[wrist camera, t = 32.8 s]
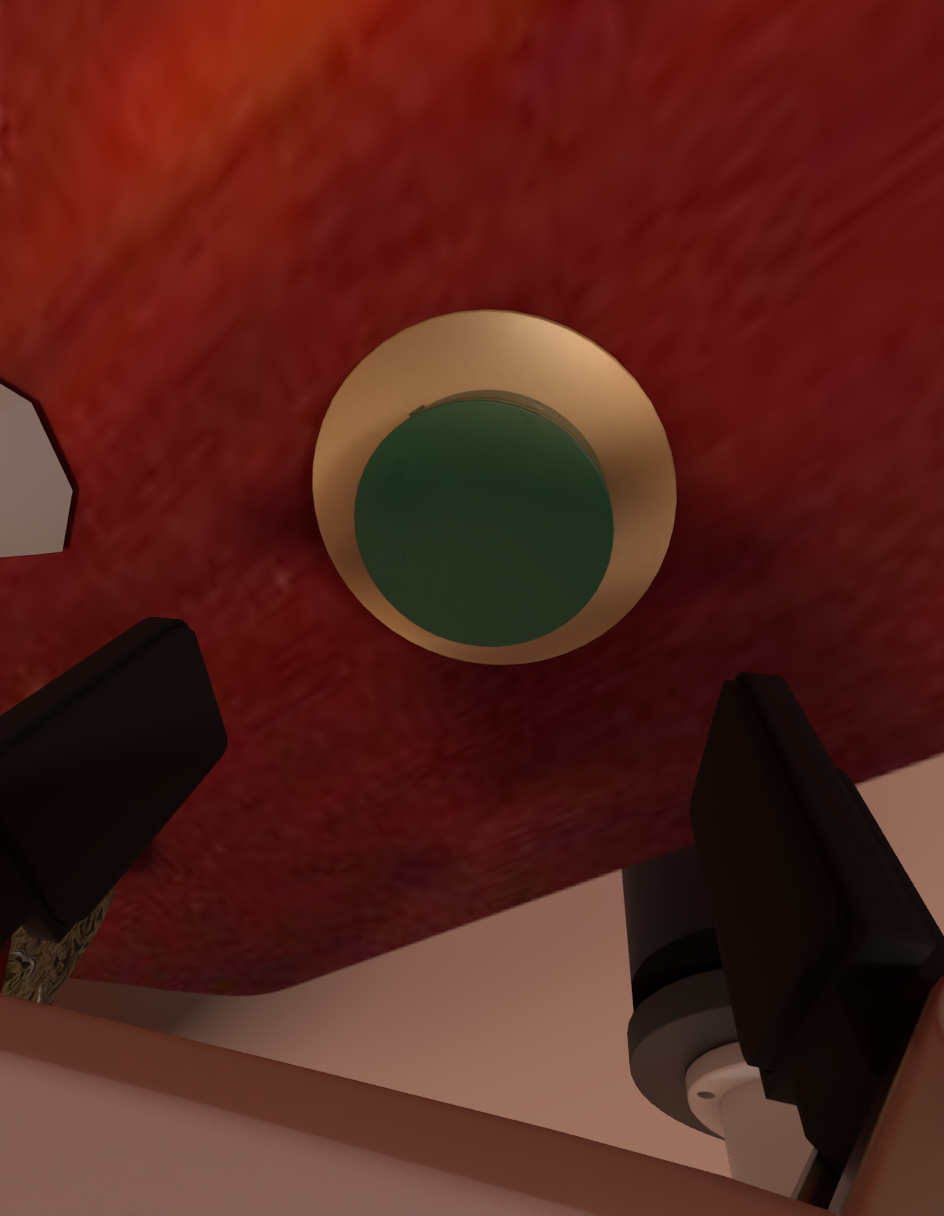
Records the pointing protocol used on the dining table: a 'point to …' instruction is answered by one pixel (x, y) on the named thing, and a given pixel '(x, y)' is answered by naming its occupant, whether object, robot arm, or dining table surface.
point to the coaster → (527, 365)
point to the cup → (48, 958)
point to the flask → (29, 483)
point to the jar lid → (485, 519)
